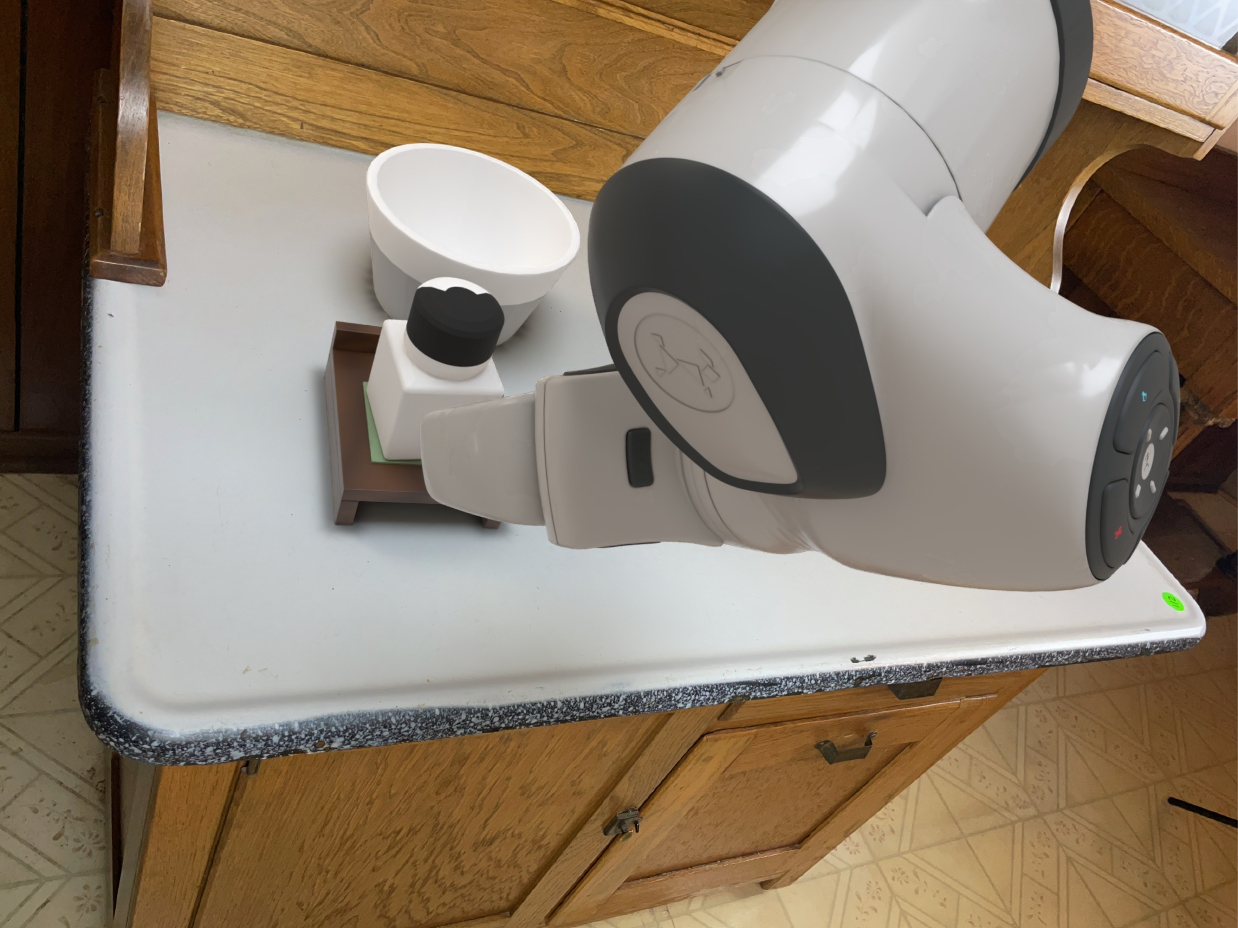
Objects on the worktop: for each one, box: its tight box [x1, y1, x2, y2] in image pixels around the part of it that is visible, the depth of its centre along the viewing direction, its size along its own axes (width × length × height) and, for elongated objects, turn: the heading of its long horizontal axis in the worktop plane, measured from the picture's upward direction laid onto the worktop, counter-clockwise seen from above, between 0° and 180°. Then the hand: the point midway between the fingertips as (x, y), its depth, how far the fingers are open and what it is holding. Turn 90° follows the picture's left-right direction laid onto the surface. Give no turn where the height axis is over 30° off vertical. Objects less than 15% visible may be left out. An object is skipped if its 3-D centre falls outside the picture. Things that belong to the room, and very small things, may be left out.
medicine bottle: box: [366, 277, 506, 460], centre depth 60 cm, size 7×7×12 cm
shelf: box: [323, 320, 502, 530], centre depth 65 cm, size 12×15×6 cm
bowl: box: [365, 142, 581, 347], centre depth 78 cm, size 19×19×11 cm
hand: (549, 428), depth 47 cm, fingers open, 8 cm apart
